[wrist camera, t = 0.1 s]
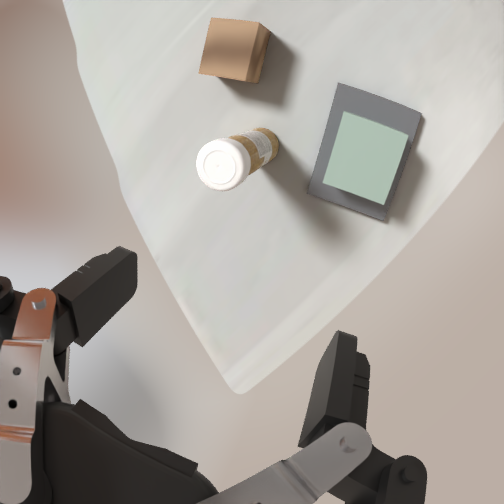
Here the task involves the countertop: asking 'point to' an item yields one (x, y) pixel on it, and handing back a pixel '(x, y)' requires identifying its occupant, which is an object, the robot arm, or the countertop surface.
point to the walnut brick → (234, 49)
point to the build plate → (328, 140)
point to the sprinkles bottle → (235, 158)
